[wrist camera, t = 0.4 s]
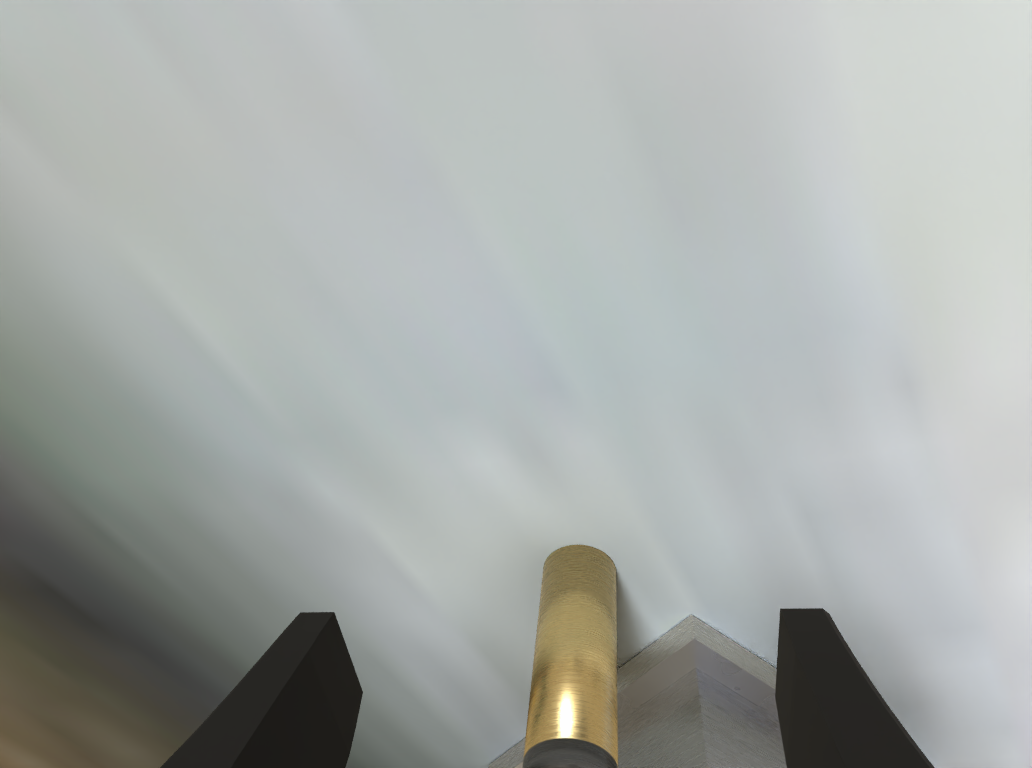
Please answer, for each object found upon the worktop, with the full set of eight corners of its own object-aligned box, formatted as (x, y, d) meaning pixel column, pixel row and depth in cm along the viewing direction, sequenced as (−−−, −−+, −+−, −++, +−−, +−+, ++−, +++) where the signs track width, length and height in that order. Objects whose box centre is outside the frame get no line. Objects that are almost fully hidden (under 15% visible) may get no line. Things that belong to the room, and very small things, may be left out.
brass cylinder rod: (631, 570, 24) (639, 816, 18) (585, 608, 26) (576, 853, 19) (573, 533, 24) (558, 772, 17) (529, 574, 25) (498, 813, 18)
